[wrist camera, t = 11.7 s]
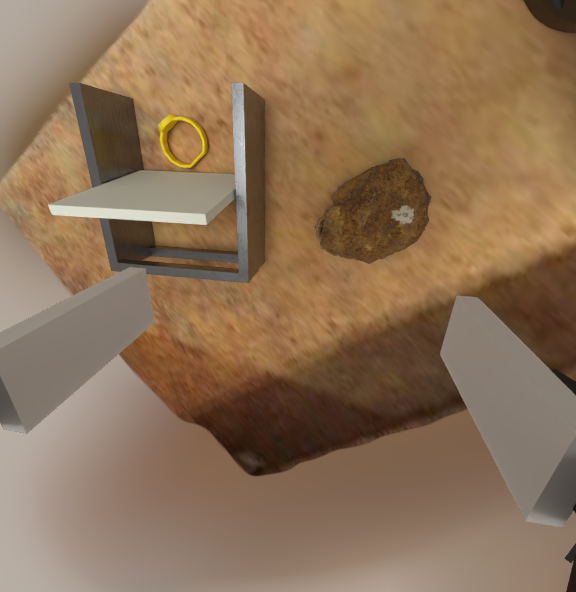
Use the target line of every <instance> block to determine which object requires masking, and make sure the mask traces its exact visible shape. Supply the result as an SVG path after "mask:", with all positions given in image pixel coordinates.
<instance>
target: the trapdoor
mask: <svg viewBox="0 0 576 592" xmlns="http://www.w3.org/2000/svg"><path fill="white" fill-rule="evenodd" d="M235 198H236V186H235V174H221V173H196V172H172V171H148V170H140V171H137V172H134V173H132V174H129V175H126V176H124V177H121V178H118V179H116V180H113V181H110V182H108V183H105V184H102V185H99V186H97V187H94V188H91V189H89V190H86V191H83V192H81V193H78V194H75V195H73V196H70V197H67V198H64V199H62V200H59V201H56V202H54V203H51V204H48V206H49V209H50V211H51V213H52V215H62V216H78V217H93V218H109V219H124V220H139V221H155V222H170V223H185V224H201V225H207V224H208V223H209V222H210V221H211V220H213V219H214V218H215V217H216V216H217V215H218V214H219V213H220V212H221V211H222V210H223V209H224V208H225V207H226V206H228V205H229V204H230V203H231V202H232V201H233V200H234V199H235Z"/></svg>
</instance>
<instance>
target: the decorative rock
mask: <svg viewBox="0 0 576 592" xmlns="http://www.w3.org/2000/svg"><path fill="white" fill-rule="evenodd" d="M332 200H333V202H334V204H335V205H334V207H333V208H331V209H330V210H327V211H326V212H325V213H324V215H323V217H322V218H321V219H319V223H318V225H317V226H316V227H315V228H317V231H316V235H317V238H318V239H319V240H320V247H321V248H322V249H324V250H326V251H327V252H329V253H331V254H333V255H339V256H340V257H345V258H349V259H356V260H360V261H364V262H366V263H368V264H369V263H372V262H374V261H376V260H378V259H379V258H380V259H383V258H385V257H387V256H388V255H391V254H393V253H394V252H398V251H401V250H403V249H405V248H406V247H408V246H410V245H411V244H413V243H415V242H416V241H417V240H418V238H419V237H420V236H421V234H422V232H423V231H424V230H425V226H426V225H427V223H428V221H429V218H428V215H427V210H428V206H429V203H430V200H431V196H430V195H429V194H428V192H427V190H426V188H425V186H424V184H423V178H422V176H421V175H420V174H419V172H418V171H415V170H413V169H411V167H410V166H409V164H408V163H407V161H406V160H405V158H403V159H399V158H398V159H395V160H390V162H389V163H387V164H384V165H379V166H375V167H372V168H371V169H369V170H367V171H365V172H364V173H362V174H361V175H359V176H357V177H355V178H354V179H352V180H350V181H348V182H346V183H344V184H343V186H340V187H338V190H337V191H336V192H335V193H334V194H333V196H332Z"/></svg>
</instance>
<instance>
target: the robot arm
mask: <svg viewBox="0 0 576 592" xmlns="http://www.w3.org/2000/svg"><path fill="white" fill-rule="evenodd" d="M525 1H526V4H527V5H528V7H529V9H530V10H531V11H532V13H533V14H534V15H535V16H536V17H537V18H538V19H539V20H540V21H541V22H543V23H544V24H546V25H548V26H549V27H552V28H554V29H557V30H560V31H565V32H576V0H525ZM154 323H155V319H154V314H153V308H152V302H151V296H150V290H149V285H148V279H147V273H146V268H136V267H129V268H127V269H125V270H123V271H121V272H119V273H117V274H115V275H113V276H111V277H109V278H107V279H105V280H103V281H101V282H99V283H97V284H95V285H93V286H91V287H89V288H87V289H85V290H83V291H81V292H79V293H77V294H75V295H73V296H71V297H70V298H68V299H66V300H64V301H62V302H60V303H58V304H56V305H54V306H52V307H50V308H48V309H46V310H44V311H42V312H40V313H38V314H36V315H34V316H32V317H30V318H28V319H26V320H24V321H22V322H20V323H18V324H16V325H14V326H12V327H10V328H8V329H6V330H4V331H2V332H0V423H1V425H2V427H3V429H4V430H8V431H14V432H20V433H26V434H27V433H28V432H29V431H30V430H32V429H33V428H34V427H35V426H36V425H37V424H39V423H40V422H41V421H42V420H43V419H44V418H45V417H47V415H49V414H50V413H51V412H52V411H54V410H55V409H56V408H57V407H58V406H59V405H60V404H62V403H63V402H64V401H65V400H66V399H67V398H68V397H69V396H71V395H72V394H73V393H74V392H75V391H77V390H78V389H79V388H80V387H81V386H82V385H83V384H85V383H86V382H87V381H88V380H89V379H90V378H91V377H93V376H94V375H95V374H96V373H97V372H98V371H99V370H101V369H102V368H103V367H104V366H105V365H106V364H108V363H109V362H110V361H111V360H112V359H113V358H114V357H116V356H117V355H118V354H119V353H120V352H121V351H123V350H124V349H125V348H126V347H127V346H128V345H129V344H131V343H132V342H133V341H134V340H135V339H136V338H137V337H139V336H140V335H141V334H142V333H143V332H144V331H146V330H147V329H148V328H149V327H150V326H151V325H152V324H154ZM440 355H441V357H442V359H443V361H444V363H445V365H446V367H447V369H448V371H449V373H450V375H451V377H452V379H453V381H454V383H455V385H456V387H457V389H458V391H459V392H460V394H461V396H462V398H463V400H464V402H465V404H466V406H467V408H468V410H469V412H470V414H471V416H472V418H473V420H474V422H475V424H476V426H477V428H478V430H479V432H480V434H481V435H482V437H483V439H484V441H485V443H486V445H487V447H488V449H489V451H490V453H491V455H492V457H493V459H494V461H495V463H496V465H497V467H498V469H499V471H500V473H501V475H502V477H503V478H504V481H505V483H506V484H507V486H508V488H509V490H510V492H511V494H512V496H513V498H514V500H515V502H516V504H517V506H518V508H519V510H520V512H521V514H522V516H523V518H524V520H525V521H528V522H534V523H540V524H546V525H551V526H557V527H563V525H564V524H565V522H566V521H567V519H568V518H569V516H570V515H571V513H572V512H573V511H575V513H576V381H574V380H572V379H571V378H569V377H567V376H566V375H564V374H563V373H561V372H559V371H558V370H556V369H549V368H548V367H547V366H546V365H545V364H544V363H543V362H542V361H541V360H540V359H539V358H538V357H537V356H536V355H535V354H534V353H533V352H532V351H531V350H530V349H529V348H528V347H527V346H526V345H525V344H524V343H523V342H522V341H521V340H520V339H519V338H518V337H517V336H516V335H515V334H514V333H513V332H512V331H511V330H510V329H509V328H508V327H507V326H506V325H505V324H504V323H503V322H502V321H501V320H500V319H499V318H498V317H497V316H496V315H495V314H494V313H493V312H492V311H491V310H490V309H489V308H488V307H487V306H486V305H485V304H484V303H483V302H482V301H481V300H480V299H479V298H478V297H468V296H457V297H456V300H455V304H454V307H453V311H452V314H451V317H450V321H449V324H448V328H447V331H446V335H445V338H444V342H443V345H442V349H441V352H440ZM565 559H566V560H567V561H569V562H570V563H572V561H573V560H574V562H573V567H572V571H571V574H570V579H569V583H568V587H567V591H566V592H576V544H575V545H574V546H573V548H572V549H571V551H570V552H569V553H568V555H567V556H566V557H565Z"/></svg>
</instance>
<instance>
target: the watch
mask: <svg viewBox="0 0 576 592" xmlns="http://www.w3.org/2000/svg"><path fill="white" fill-rule="evenodd" d="M180 120H183V121H185V122H188V123H190V124H191V125H192V126H193V127H194V128H195V129H196V130H197V131H198V132H199V135H200V137H201V140H202V153H201V154H200V155H199V156H198V157H197V158H196V159H195V160H194V161H193V162H192V163H191V164H184V163H183V162H181V161H179V160H177V159H176V158H175V157H174V156H173V155H172V153H171V152H170V151H169V148H168V144H167V141H166V139H167V131H169V130H170V129H171V128H172V127H173V126H174V125H175V124H176V123H177V121H180ZM158 129H159V130H160V144H161V147H162V150H163V152H164V154H165V155H166V157H167V158H168V159H169V160H170V161H171V162H172V163H173V164H175V165H177V166H179V167H182V168H192V167H194V166H195V165H196V163H197V162H198V161H199V160H200V159H201V158H202V157H203V156H204V155H205V154H206V153H207V152H208V141H207V137H206V135H205V132H204V130H203V128H202V127H201V126H200V125H199V124H198V123H197V122H196V121H194V120H192V119H190V118H187V117H183V116H179V117H176V116H175V115H174V114H171V115H169V116H167V117H166V118H165V119H164V120H163V121H162V122H161V123H160V124H159V126H158Z"/></svg>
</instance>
